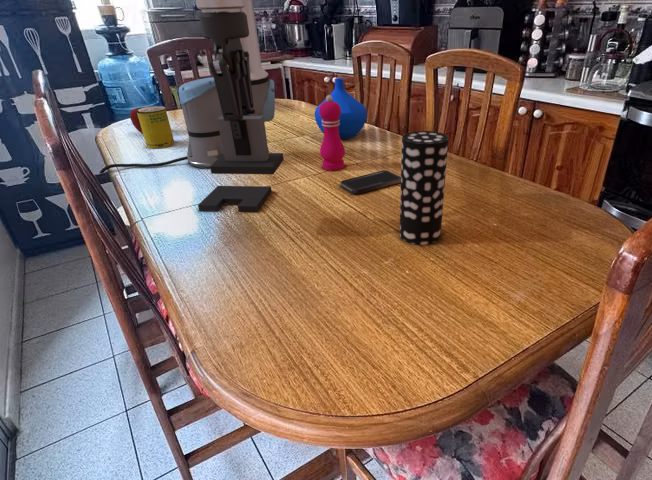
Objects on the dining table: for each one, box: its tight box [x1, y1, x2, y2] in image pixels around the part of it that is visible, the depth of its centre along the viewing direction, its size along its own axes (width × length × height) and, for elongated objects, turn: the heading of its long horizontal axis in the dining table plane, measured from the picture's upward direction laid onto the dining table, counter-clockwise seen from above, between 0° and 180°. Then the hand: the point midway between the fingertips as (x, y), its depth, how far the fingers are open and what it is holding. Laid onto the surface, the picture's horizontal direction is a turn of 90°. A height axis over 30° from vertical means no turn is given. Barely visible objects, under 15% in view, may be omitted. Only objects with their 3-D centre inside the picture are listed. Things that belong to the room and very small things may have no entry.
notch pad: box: [197, 185, 273, 213], centre depth 101 cm, size 14×12×2 cm
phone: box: [339, 169, 401, 195], centre depth 109 cm, size 8×1×15 cm
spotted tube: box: [399, 130, 450, 246], centre depth 80 cm, size 8×8×20 cm
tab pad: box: [209, 116, 285, 175], centre depth 80 cm, size 12×12×10 cm
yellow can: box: [136, 105, 175, 150], centre depth 142 cm, size 9×9×12 cm
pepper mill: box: [319, 94, 346, 172], centre depth 116 cm, size 7×7×20 cm
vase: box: [314, 77, 368, 140], centre depth 145 cm, size 18×18×19 cm
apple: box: [129, 106, 146, 135], centre depth 155 cm, size 10×10×10 cm
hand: (246, 151), depth 80 cm, fingers closed on tab pad, 2 cm apart
